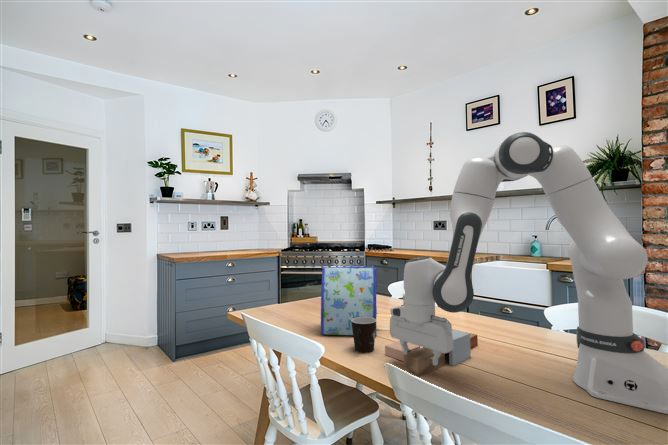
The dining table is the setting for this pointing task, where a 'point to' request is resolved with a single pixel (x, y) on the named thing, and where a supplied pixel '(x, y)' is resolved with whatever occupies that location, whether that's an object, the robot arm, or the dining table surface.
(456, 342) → the grey tunnel block
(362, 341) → the coffee mug
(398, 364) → the dining table surface
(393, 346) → the stand
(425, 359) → the block
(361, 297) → the lunch bag
